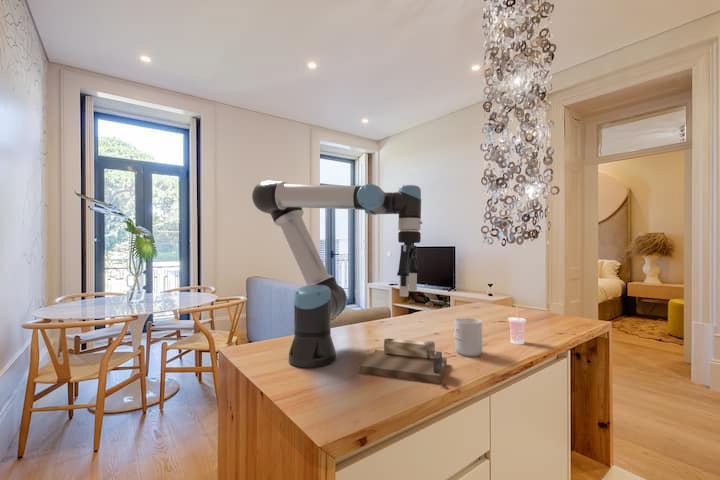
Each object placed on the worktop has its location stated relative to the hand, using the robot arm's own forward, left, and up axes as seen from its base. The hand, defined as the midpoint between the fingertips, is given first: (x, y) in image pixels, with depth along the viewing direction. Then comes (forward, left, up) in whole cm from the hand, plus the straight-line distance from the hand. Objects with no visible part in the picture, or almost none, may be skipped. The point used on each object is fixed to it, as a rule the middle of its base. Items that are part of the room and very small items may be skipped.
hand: (408, 293), depth 112 cm
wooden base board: (+1, -13, -21) cm, 24 cm away
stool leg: (+1, -7, -18) cm, 20 cm away
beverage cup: (+36, +29, -21) cm, 51 cm away
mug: (+18, +10, -21) cm, 29 cm away
